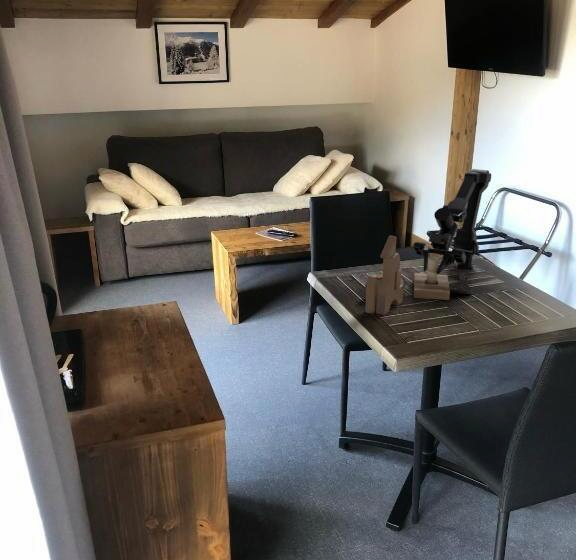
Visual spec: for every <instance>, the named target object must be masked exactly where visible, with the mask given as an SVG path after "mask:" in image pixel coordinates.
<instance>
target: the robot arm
mask: <svg viewBox="0 0 576 560" xmlns="http://www.w3.org/2000/svg"><path fill="white" fill-rule="evenodd" d="M491 180H492V173H490V171H489V170H487V169H477V168H472V169H471V170H469V171H466V172H465V173H464V176H463V180H462V182H461V185H460V187H459V189H458V191H457V193H456V195H455V197H454V199H452V200H451V201H449V202H448V204H447V205H446V204H443V206H442V207H440V208H438V209H437V210H436V211H435V212H434V214H433V215H434V216H433V217H434V219H435V221H436V223H437V226H438V227H439V230H438V232H437V233H436V232H435V233H434V232H430V234H429V238H428V242H430V246H431V247H430V246H428V245H427V244H426V243H425V242H421V241H415V242H414V243H413V245H412V249H413V251H414V254H415V255H418V256H420V257H421V256H422V257H423V272H427V269H428V257H429V256H431V255H432V254H434V255H438V256H439V255H440V256H442V260H441V261H440V264H438V270H437V274H438V275H440V274H441V273H442V272H443V271H444V270H445V269H446V268H448V267H449V266H451V265H452V264H455V266H456V269H467V270H474V265H473V257H474V256H475V255H478V254H479V250H480V246H479V243H478V235H477V233H476V231H475V229H476V228H475V227H476V223H477V218H478V214H479V209H480V205H481V200H482V195H483V193H484V192H485V191H486V190H487V189H488V187H489V185H490V182H491ZM458 223H461V224H462V227H461V228H460V229H459V230H458V227H459V226H458ZM451 246H453V248H452V249H451V250H450V247H451Z"/></svg>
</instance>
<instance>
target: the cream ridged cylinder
mask: <svg viewBox="0 0 576 560" xmlns="http://www.w3.org/2000/svg"><path fill="white" fill-rule="evenodd" d="M439 262H440V256H439V255H438V256H437V255H430V256H429V257H428V268H427V270H426V274H427V280H426V284H435V285H436V283H437V270H438V268H439Z"/></svg>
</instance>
